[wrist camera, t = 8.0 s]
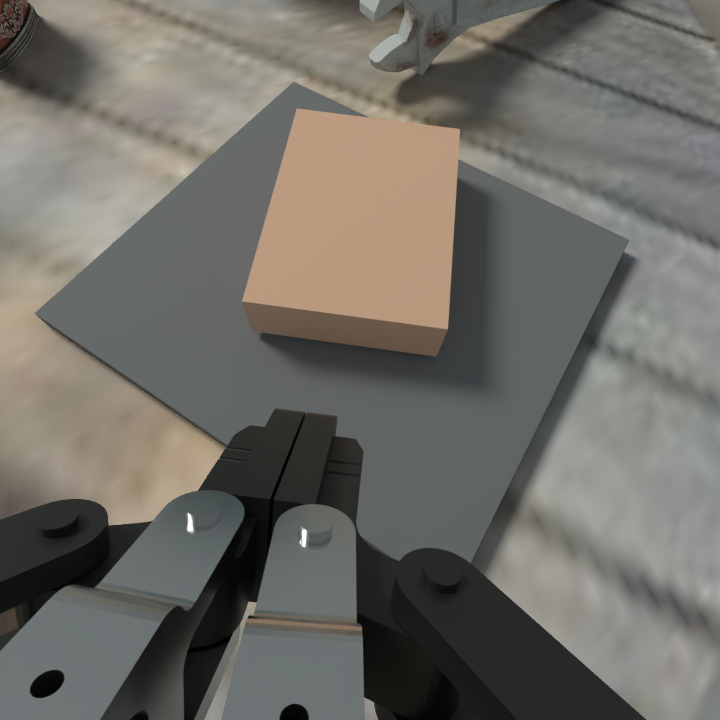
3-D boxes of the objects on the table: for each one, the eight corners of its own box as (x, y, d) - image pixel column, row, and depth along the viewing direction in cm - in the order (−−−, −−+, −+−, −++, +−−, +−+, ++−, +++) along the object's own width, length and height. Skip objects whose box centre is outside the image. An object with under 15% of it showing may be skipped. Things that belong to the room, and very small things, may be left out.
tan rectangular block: (448, 329, 23) (460, 129, 29) (242, 301, 23) (296, 108, 29) (434, 359, 26) (448, 173, 32) (253, 334, 26) (300, 154, 32)
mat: (44, 322, 27) (34, 313, 26) (294, 94, 36) (293, 81, 35) (448, 598, 22) (452, 599, 21) (620, 250, 31) (629, 240, 30)
